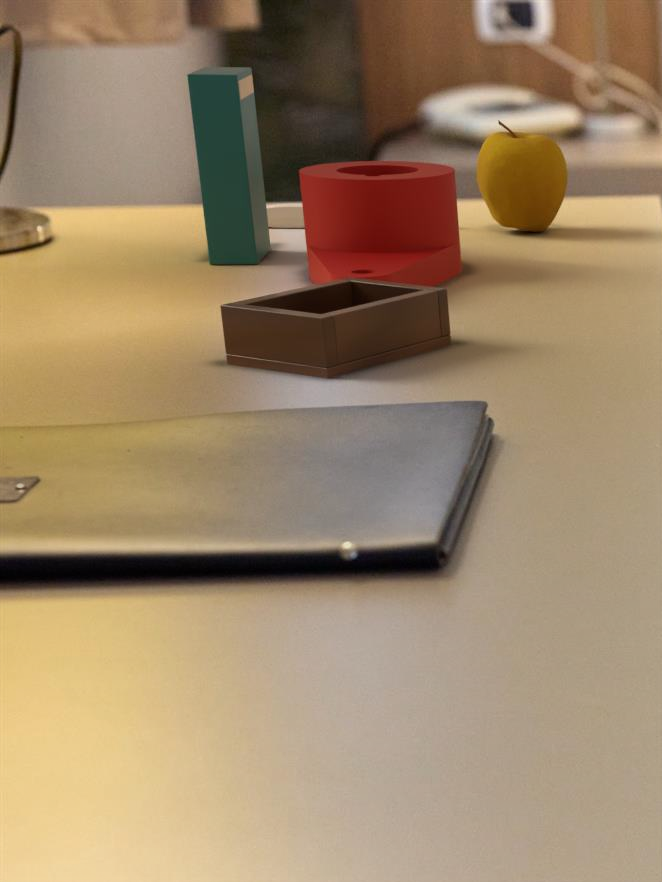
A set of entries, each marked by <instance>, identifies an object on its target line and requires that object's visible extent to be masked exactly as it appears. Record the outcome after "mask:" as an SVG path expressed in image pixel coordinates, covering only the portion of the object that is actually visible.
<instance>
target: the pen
mask: <svg viewBox="0 0 662 882" xmlns="http://www.w3.org/2000/svg"><path fill="white" fill-rule="evenodd" d="M266 208H267V218H268V227H269V228H272V229H273V228H274V229H275V228H276V229H277V228H278V229H305V226H304V216H303V206H302V203H279V204H278V203H277V204H270V205H266Z"/></svg>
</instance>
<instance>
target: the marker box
mask: <svg viewBox="0 0 662 882" xmlns="http://www.w3.org/2000/svg"><path fill="white" fill-rule="evenodd" d="M252 70H253V69H252V67H247V66H246V67H245V66H244V67H243V66H241V67H239V66H238V67H237V66H236V67H235V66H233V67H232V66H224V67H223V66H204V67H201V68H199V69H197V70H194V71H192V72H190V73H188V74H187V76H186V77H187V85H188V94H189V101H190V111H191V119H192V128H193V135H194V143H195V144H194V145H195V151H196V160H197V170H198V176H199V178H198V179H199V186H200V194H201V202H202V209H203V210H202V211H203V212H202V213H203V219H204V229H205V235H206V245H207V253H208V261H209V265H211V266H213V265H214V266H215V265H216V266H217V265H220V266H221V265H224V266H226V265H227V266H229V265H232V266H233V265H234V266H236V265H237V266H238V265H259V263H260V262H261V261H262V260H263V259H264V257H265V256H266V255H267V254H268V253H269V252H270V251H271V249H272V247H271V246H272V245H271V237H270V236H271V235H270V229H269V228H270V227H268V218H267V208H266V206H267V200H266V189H265V182H264V181H265V180H264V173H263V172H264V171H263V163H262V154H261V146H260V133H259V126H258V118H257V107H256V98H255V97H256V96H255V88H254V77H253V71H252Z"/></svg>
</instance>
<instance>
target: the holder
mask: <svg viewBox="0 0 662 882" xmlns="http://www.w3.org/2000/svg"><path fill="white" fill-rule="evenodd" d="M220 315H221V324H222V331H223V341H224V348H225V355H226V356H225V357H226V364H227V365H230V366H235V367H236V366H237V367H242V368H243V367H244V368H250V369H258V370H265V371H271V372H279V373H285V374H293V375H300V376H306V377H313V378H321V379H326V380H327V379H329V380H330V379H333V378H337V377H339V376H344V375H347V374H351V373H354V372H357V371H358V372H359V371H362V370H366V369H369V368H373V367H375V366H380V365H383V364H387V363H390V362H394V361H397V360H401V359H405V358H409V357H412V356H416V355H420V354H423V353H427V352H430V351H433V350H438V349H442V348H444V347H448V346H451V345H452V336H451V335H452V334H451V323H450V321H451V320H450V309H449V296H448V289H447V288H444V287H436V286H434V287H429V286H420V285H412V284H403V283H395V282H387V281H378V280H370V279H361V278H353V277H349V278H344V279H339V280H335V281H330V282H325V283H321V284H316V283H315V284H311V285H308V286H303V287H298V288H293V289H289V290H285V291H280V292H275V293H271V294H266V295H261V296H260V295H259V296H257V297H251V298H247V299H241V300H238V301H232V302H229V303H224V304H220Z"/></svg>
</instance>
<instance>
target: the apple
mask: <svg viewBox="0 0 662 882" xmlns="http://www.w3.org/2000/svg"><path fill="white" fill-rule="evenodd" d="M497 122H498V125H499V126H501V127H502V128H504V129H505V130H506V131H497V132H494V133H492V134H490V135H489V136H488V137H487V138H486V139H485V140H484V142H483V143H482V145H481V147H480V150H479V152H478V157H477V164H476V183H477V186H478V189H479V192H480V194H481V196H482V198H483V200H484V202H485V204H486V206H487V209H488V211H489V213H490V215H491V217H492V219H493V220H494V221H495V222H496V223H498V225H500V226H501V227H503V228H511V229H516V230H519V231H524V232H525V231H526V232H533V233H539V232H545V231H547V230H548V228H549V226H550V225H552V223H553V222H554V221H555V218H556V216H557V214H558V212H559V211H560V208H561V206H562V204H563V202H564V199H565V195H566V192H567V187H568V167H567V162H566V158H565V156H564V153H563V151H562V149H561V147H560V146H559V145H558V143H557V142H556V140H554V139H553V138H551V137H550V136H548V135H545V134H539V133H538V134H536V133H527V132H517V131H516V132H515V131H513V130H512V129H510V128H509V127H508V126H507V125H505V124H504V123H503V122H501V121H500V119H497Z"/></svg>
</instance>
